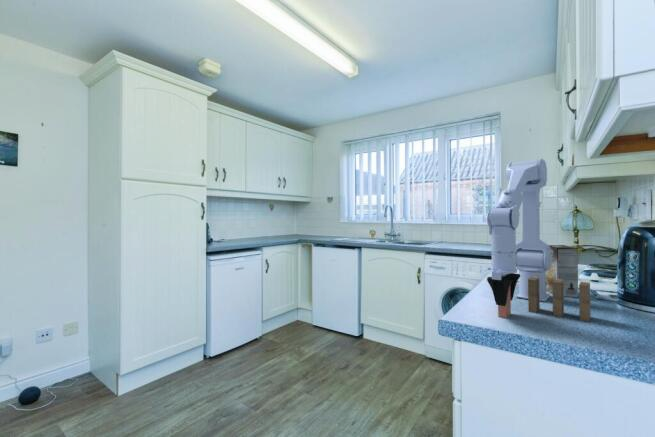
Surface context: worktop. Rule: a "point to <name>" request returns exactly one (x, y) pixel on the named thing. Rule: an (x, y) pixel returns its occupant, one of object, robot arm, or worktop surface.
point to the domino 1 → (505, 307)
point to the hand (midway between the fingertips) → (504, 302)
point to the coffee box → (564, 269)
